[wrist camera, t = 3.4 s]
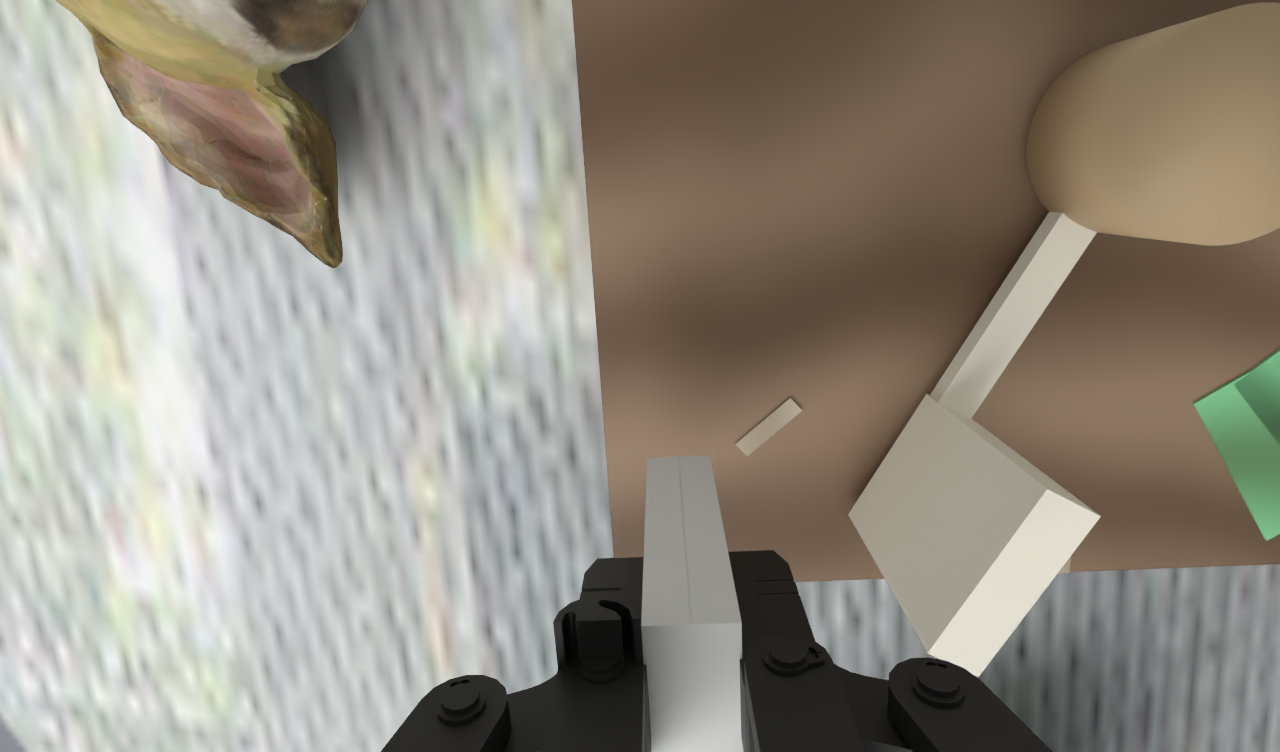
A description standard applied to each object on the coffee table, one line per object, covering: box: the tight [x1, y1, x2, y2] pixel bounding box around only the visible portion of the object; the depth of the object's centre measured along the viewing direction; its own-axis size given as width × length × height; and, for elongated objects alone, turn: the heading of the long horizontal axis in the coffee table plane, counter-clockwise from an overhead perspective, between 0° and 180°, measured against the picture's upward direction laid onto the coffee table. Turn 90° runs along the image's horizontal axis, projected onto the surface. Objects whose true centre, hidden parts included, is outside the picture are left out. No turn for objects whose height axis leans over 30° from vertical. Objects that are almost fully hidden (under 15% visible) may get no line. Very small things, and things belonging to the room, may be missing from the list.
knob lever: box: [848, 2, 1280, 677], centre depth 15 cm, size 14×4×6 cm, turn 153°
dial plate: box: [572, 0, 1280, 582], centre depth 19 cm, size 16×26×2 cm, turn 93°
